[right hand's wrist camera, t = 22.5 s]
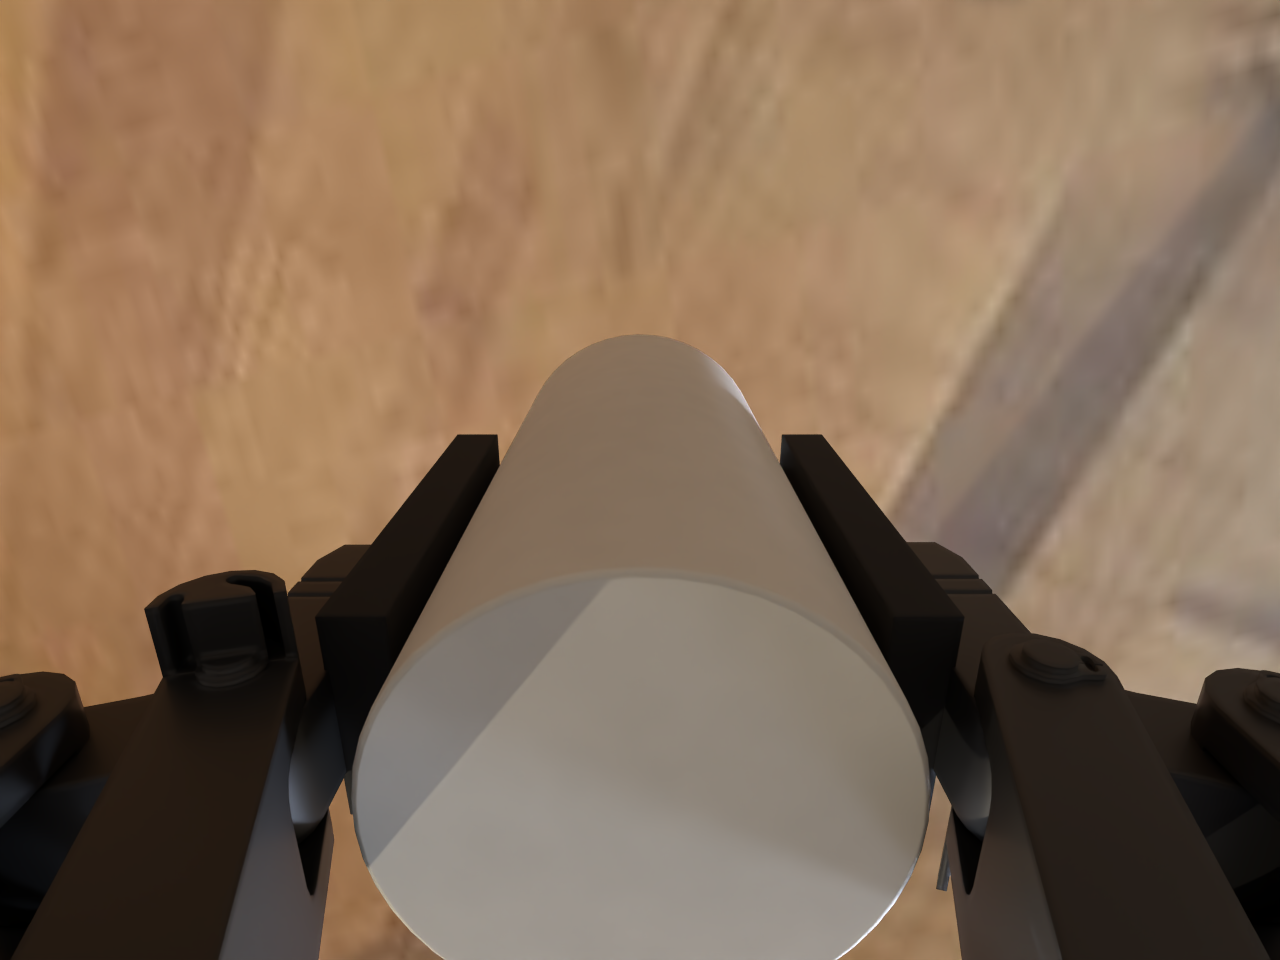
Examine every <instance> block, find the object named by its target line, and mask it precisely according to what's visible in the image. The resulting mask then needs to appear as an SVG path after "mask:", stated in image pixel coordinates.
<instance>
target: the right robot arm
mask: <svg viewBox="0 0 1280 960" xmlns="http://www.w3.org/2000/svg"><path fill="white" fill-rule="evenodd" d="M780 465H781V467H782V469H783V471H784V473H785V474H786V476H787V478H788V480H789V482H790V484H791V486H792V488H793V489H794V491H795V493H796V495H797V497H798V499H799V501H800V502H801V504H802V506H803V508H804V510H805V512H806V514H807V515H808V517H809V519H810V521H811V523H812V525H813V527H814V528H815V530H816V532H817V534H818V536H819V538H820V540H821V541H822V543H823V545H824V547H825V549H826V551H827V553H828V554H829V556H830V558H831V560H832V562H833V564H834V566H835V567H836V569H837V571H838V573H839V575H840V577H841V579H842V580H843V582H844V584H845V586H846V588H847V590H848V592H849V593H850V595H851V597H852V599H853V601H854V603H855V605H856V607H857V608H858V610H859V612H860V614H861V616H862V618H863V620H864V621H865V623H866V625H867V627H868V629H869V631H870V633H871V634H872V636H873V638H874V640H875V642H876V644H877V646H878V647H879V649H880V651H881V653H882V655H883V657H884V659H885V660H886V662H887V664H888V666H889V668H890V670H891V672H892V673H893V675H894V677H895V679H896V681H897V683H898V685H899V686H900V688H901V690H902V692H903V694H904V696H905V698H906V700H907V702H908V704H909V706H910V708H911V710H912V712H913V715H914V717H915V719H916V721H917V723H918V725H919V727H920V731H921V735H922V738H923V742H924V745H925V749H926V753H927V756H928V764H929V774H930V784H931V793H930V805H931V800H932V794H933V789H934V783H935V778H936V776H937V778H938V779H939V781H940V783H941V785H942V787H943V789H944V791H945V793H946V795H947V797H948V799H949V801H950V803H951V805H952V807H951V812H950V817H949V822H948V828H947V833H946V838H945V843H944V848H943V853H942V858H941V864H940V869H939V874H938V881H937V887H936V889H939V890H943V891H947V886H948V881H949V876H950V875H951V881H952V888H953V896H954V903H955V911H956V918H957V926H958V933H959V941H960V948H961V956H962V960H1280V673H1276V672H1271V671H1266V670H1262V671H1258V670H1250V669H1241V668H1234V669H1225V670H1217V671H1215V672H1214V673H1212V674H1211V675H1209V676H1208V677H1206V678H1205V681H1204V684H1203V687H1202V690H1201V693H1200V696H1199V699H1198V702H1197V704H1194V703H1189V702H1183V701H1178V700H1172V699H1167V698H1162V697H1156V696H1151V695H1145V694H1140V693H1135V692H1131V691H1127V690H1124V688H1123V686H1122V684H1121V682H1120V681H1119V679H1118V677H1117V676H1116V674H1115V673H1114V672H1113V671H1112V670H1111V669H1110V668H1109V666H1108V665H1107V664H1106V663H1105V662H1104V661H1102V660H1101V659H1099V658H1098V657H1096V656H1094V655H1093V654H1091V653H1090V652H1088V651H1087V650H1085V649H1083V648H1080V647H1078V646H1075V645H1073V644H1070V643H1068V642H1066V641H1063V640H1061V639H1056V638H1052V637H1047V636H1043V635H1039V634H1031V633H1030V631H1029V630H1028V629H1027V628H1026V627H1025V626H1024V625H1023V624H1022V623H1021V622H1020V620H1019V619H1018V618H1017V617H1016V616H1015V615H1014V614H1013V613H1012V612H1011V611H1010V609H1009V608H1008V607H1007V606H1006V605H1005V604H1004V603H1003V602H1002V601H1001V600H1000V598H999V597H998V596H997V595H996V594H992V590H991V588H990V587H989V586H988V585H987V584H986V583H985V582H984V581H983V580H982V579H979V575H978V574H977V573H976V572H975V571H974V570H973V569H972V568H971V566H970V565H969V564H968V563H967V562H966V561H965V560H964V559H963V558H962V557H960V556H959V555H957V554H955V553H953V552H952V551H950V550H948V549H946V548H944V547H943V546H941V545H939V544H937V543H935V542H906V541H905V540H904V539H903V537H902V536H901V535H900V534H899V532H898V531H897V530H896V529H895V527H894V526H893V525H892V523H891V522H890V521H889V520H888V518H887V517H886V516H885V515H884V513H883V512H882V511H881V509H880V508H879V507H878V506H877V504H876V503H875V502H874V501H873V499H872V498H871V497H870V495H869V494H868V493H867V492H866V490H865V489H864V488H863V486H862V485H861V484H860V483H859V481H858V480H857V479H856V478H855V476H854V475H853V474H852V472H851V471H850V470H849V469H848V467H847V466H846V465H845V464H844V462H843V461H842V460H841V458H840V457H839V456H838V455H837V453H836V452H835V451H834V450H833V448H832V447H831V446H830V444H829V443H828V442H827V441H826V439H825V438H824V437H823V435H782V442H781V456H780ZM499 466H500V463H499V449H498V435H457V436H456V437H455V439H454V440H453V441H452V443H451V444H450V445H449V446H448V448H447V449H446V450H445V451H444V453H443V454H442V455H441V457H440V458H439V459H438V460H437V462H436V463H435V464H434V465H433V467H432V468H431V469H430V471H429V472H428V473H427V474H426V476H425V477H424V478H423V479H422V481H421V482H420V483H419V485H418V486H417V487H416V488H415V490H414V491H413V492H412V494H411V495H410V496H409V497H408V499H407V500H406V501H405V502H404V504H403V505H402V506H401V508H400V509H399V510H398V511H397V513H396V514H395V515H394V516H393V518H392V519H391V520H390V522H389V523H388V524H387V525H386V527H385V528H384V529H383V530H382V532H381V533H380V534H379V536H378V537H377V538H376V539H375V541H374V542H373V543H372V544H371V545H343V546H342V547H340V548H338V549H336V550H335V551H333V552H331V553H329V554H328V555H326V556H324V557H322V558H320V559H319V560H317V561H316V562H315V563H314V565H313V566H312V567H311V568H310V569H309V570H308V571H307V572H306V573H305V575H304V576H303V577H302V578H301V582H297V583H296V585H295V586H294V587H293V588H292V589H291V590H290V591H289V592H288V596H287V591H286V586H285V581H284V580H283V579H281V578H280V577H278V576H277V575H275V574H274V573H268V572H263V571H257V570H244V571H228V572H223V573H218V574H213V575H207V576H203V577H200V578H197V579H194V580H191V581H189V582H186V583H183V584H180V585H178V586H176V587H174V588H172V589H170V590H168V591H166V592H165V593H163V594H161V595H159V596H157V597H156V598H155V599H154V600H153V601H152V602H151V603H150V604H149V605H148V606H147V607H146V608H145V609H144V610H145V614H146V617H147V621H148V624H149V628H150V632H151V635H152V639H153V643H154V646H155V650H156V653H157V657H158V661H159V664H160V668H161V672H162V675H163V678H162V680H161V682H160V684H159V686H158V687H157V689H156V691H155V693H154V694H151V695H146V696H142V697H137V698H131V699H126V700H120V701H115V702H110V703H104V704H99V705H94V706H88V707H83V704H82V701H81V698H80V695H79V692H78V689H77V686H76V683H75V681H73V680H72V679H70V678H69V677H67V676H66V675H65V674H60V673H51V672H36V673H27V674H13V675H8V676H3V677H0V960H318V958H319V950H320V943H321V935H322V928H323V920H324V913H325V905H326V898H327V890H328V883H329V875H330V868H331V860H332V853H333V845H334V835H333V828H332V822H331V817H330V812H329V806H330V804H331V802H332V800H333V798H334V796H335V794H336V792H337V790H338V788H339V786H340V784H341V782H342V780H343V778H344V781H345V786H346V792H347V797H348V803H349V808H350V814H353V810H352V802H351V788H352V768H353V763H354V758H355V754H356V749H357V745H358V740H359V736H360V734H361V731H362V729H363V726H364V724H365V722H366V719H367V717H368V714H369V712H370V709H371V707H372V705H373V703H374V701H375V699H376V698H377V696H378V694H379V692H380V690H381V688H382V686H383V684H384V683H385V681H386V679H387V677H388V675H389V673H390V671H391V669H392V667H393V666H394V664H395V662H396V660H397V658H398V656H399V654H400V652H401V651H402V649H403V647H404V645H405V643H406V641H407V639H408V637H409V636H410V634H411V632H412V630H413V628H414V626H415V624H416V622H417V620H418V619H419V617H420V615H421V613H422V611H423V609H424V607H425V605H426V604H427V602H428V600H429V598H430V596H431V594H432V592H433V590H434V589H435V587H436V585H437V583H438V581H439V579H440V577H441V575H442V573H443V572H444V570H445V568H446V566H447V564H448V562H449V560H450V558H451V557H452V555H453V553H454V551H455V549H456V547H457V545H458V543H459V542H460V540H461V538H462V536H463V534H464V532H465V530H466V528H467V526H468V525H469V523H470V521H471V519H472V517H473V515H474V513H475V511H476V510H477V508H478V506H479V504H480V502H481V500H482V498H483V496H484V494H485V493H486V491H487V489H488V487H489V485H490V483H491V481H492V479H493V478H494V476H495V474H496V472H497V470H498V468H499ZM929 811H930V807H929Z"/></svg>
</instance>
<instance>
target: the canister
mask: <svg viewBox="0 0 1280 960" xmlns="http://www.w3.org/2000/svg"><path fill="white" fill-rule="evenodd" d="M930 793H931V784H930V774H929V764H928V756H927V753H926V749H925V745H924V742H923V738H922V735H921V731H920V727H919V725H918V723H917V721H916V719H915V717H914V715H913V712H912V710H911V708H910V706H909V704H908V702H907V700H906V698H905V696H904V694H903V692H902V690H901V688H900V686H899V685H898V683H897V681H896V679H895V677H894V675H893V673H892V672H891V670H890V668H889V666H888V664H887V662H886V660H885V659H884V657H883V655H882V653H881V651H880V649H879V647H878V646H877V644H876V642H875V640H874V638H873V636H872V634H871V633H870V631H869V629H868V627H867V625H866V623H865V621H864V620H863V618H862V616H861V614H860V612H859V610H858V608H857V607H856V605H855V603H854V601H853V599H852V597H851V595H850V593H849V592H848V590H847V588H846V586H845V584H844V582H843V580H842V579H841V577H840V575H839V573H838V571H837V569H836V567H835V566H834V564H833V562H832V560H831V558H830V556H829V554H828V553H827V551H826V549H825V547H824V545H823V543H822V541H821V540H820V538H819V536H818V534H817V532H816V530H815V528H814V527H813V525H812V523H811V521H810V519H809V517H808V515H807V514H806V512H805V510H804V508H803V506H802V504H801V502H800V501H799V499H798V497H797V495H796V493H795V491H794V489H793V488H792V486H791V484H790V482H789V480H788V478H787V476H786V474H785V473H784V471H783V469H782V467H781V465H780V463H779V461H778V460H777V458H776V456H775V454H774V452H773V450H772V448H771V447H770V445H769V443H768V441H767V439H766V437H765V435H764V434H763V432H762V430H761V428H760V426H759V424H758V422H757V421H756V419H755V417H754V415H753V413H752V411H751V409H750V408H749V406H748V404H747V402H746V400H745V398H744V396H743V395H742V393H741V391H740V389H739V388H738V386H737V385H736V383H735V382H734V380H733V379H732V378H731V377H730V376H729V374H728V373H727V372H726V371H725V370H724V369H723V368H722V367H721V366H720V365H719V364H718V363H717V362H715V361H714V360H713V359H712V358H711V357H709V356H708V355H706V354H704V353H703V352H701V351H700V350H698V349H696V348H694V347H692V346H690V345H688V344H686V343H683V342H680V341H677V340H674V339H671V338H667V337H661V336H656V335H640V334H636V335H625V336H618V337H614V338H609V339H606V340H603V341H600V342H597V343H595V344H592V345H590V346H588V347H586V348H584V349H582V350H580V351H578V352H577V353H576V354H574V355H573V356H571V357H570V358H568V359H567V360H566V361H565V362H563V363H562V364H561V365H560V366H559V367H558V368H557V369H556V370H555V371H554V372H553V373H552V375H551V376H550V377H549V378H548V379H547V381H546V382H545V383H544V385H543V387H542V388H541V390H540V392H539V393H538V395H537V397H536V399H535V400H534V402H533V404H532V406H531V408H530V410H529V412H528V414H527V416H526V417H525V419H524V421H523V423H522V425H521V427H520V429H519V431H518V432H517V434H516V436H515V438H514V440H513V442H512V444H511V446H510V447H509V449H508V451H507V453H506V455H505V457H504V459H503V461H502V463H501V464H500V466H499V468H498V470H497V472H496V474H495V476H494V478H493V479H492V481H491V483H490V485H489V487H488V489H487V491H486V493H485V494H484V496H483V498H482V500H481V502H480V504H479V506H478V508H477V510H476V511H475V513H474V515H473V517H472V519H471V521H470V523H469V525H468V526H467V528H466V530H465V532H464V534H463V536H462V538H461V540H460V542H459V543H458V545H457V547H456V549H455V551H454V553H453V555H452V557H451V558H450V560H449V562H448V564H447V566H446V568H445V570H444V572H443V573H442V575H441V577H440V579H439V581H438V583H437V585H436V587H435V589H434V590H433V592H432V594H431V596H430V598H429V600H428V602H427V604H426V605H425V607H424V609H423V611H422V613H421V615H420V617H419V619H418V620H417V622H416V624H415V626H414V628H413V630H412V632H411V634H410V636H409V637H408V639H407V641H406V643H405V645H404V647H403V649H402V651H401V652H400V654H399V656H398V658H397V660H396V662H395V664H394V666H393V667H392V669H391V671H390V673H389V675H388V677H387V679H386V681H385V683H384V684H383V686H382V688H381V690H380V692H379V694H378V696H377V698H376V699H375V701H374V703H373V705H372V707H371V709H370V712H369V714H368V717H367V719H366V722H365V724H364V726H363V729H362V731H361V734H360V736H359V740H358V745H357V749H356V754H355V758H354V763H353V768H352V788H351V802H352V810H353V819H354V827H355V833H356V836H357V839H358V843H359V846H360V850H361V853H362V857H363V860H364V862H365V864H366V866H367V868H368V870H369V872H370V874H371V877H372V879H373V881H374V883H375V885H376V887H377V888H378V890H379V891H380V893H381V894H382V896H383V897H384V899H385V900H386V902H387V903H388V905H389V906H390V908H391V909H392V911H393V912H394V913H395V914H396V915H397V916H398V917H399V918H400V920H401V921H402V922H403V923H404V924H405V925H406V926H407V928H408V929H409V930H410V931H411V932H412V933H413V934H414V935H415V936H416V937H417V938H419V939H420V940H421V941H422V942H423V943H424V944H425V945H426V946H428V947H429V948H430V949H431V950H432V951H433V952H434V953H436V954H437V955H439V956H440V957H441V958H443V959H444V960H837V959H838V958H840V957H841V956H842V955H844V954H845V953H846V952H848V951H849V950H850V949H852V948H853V947H854V946H855V945H856V944H858V943H859V942H860V941H861V940H862V939H863V938H864V937H865V936H866V935H867V934H868V933H869V932H870V931H871V930H872V929H873V928H874V927H875V926H876V925H877V924H878V923H879V922H880V920H881V919H882V918H883V917H884V915H885V914H886V913H887V912H888V911H889V909H890V908H891V907H892V906H893V904H894V903H895V902H896V900H897V898H898V897H899V895H900V893H901V892H902V890H903V888H904V887H905V885H906V884H907V882H908V880H909V879H910V877H911V874H912V872H913V870H914V867H915V865H916V862H917V860H918V858H919V855H920V853H921V850H922V846H923V842H924V838H925V834H926V830H927V826H928V821H929V807H930Z"/></svg>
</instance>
